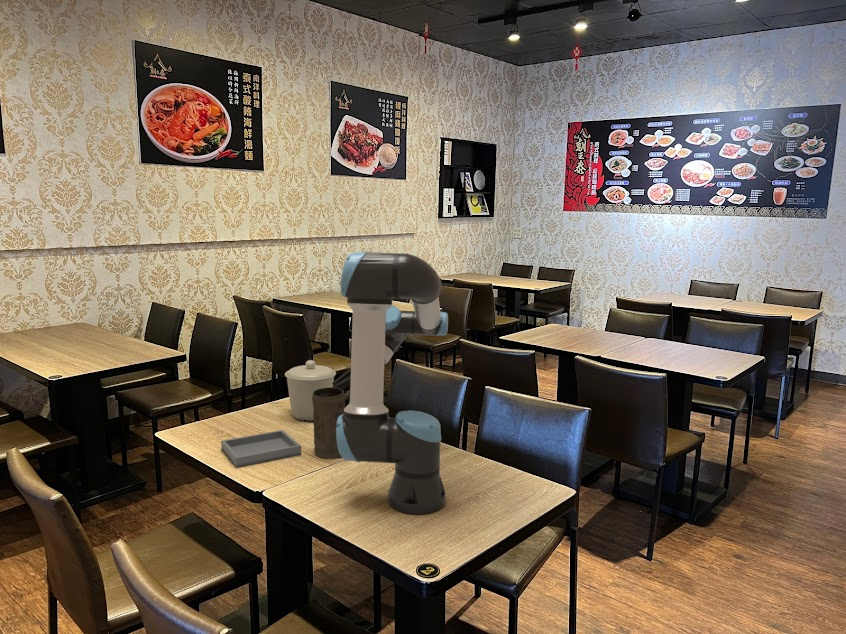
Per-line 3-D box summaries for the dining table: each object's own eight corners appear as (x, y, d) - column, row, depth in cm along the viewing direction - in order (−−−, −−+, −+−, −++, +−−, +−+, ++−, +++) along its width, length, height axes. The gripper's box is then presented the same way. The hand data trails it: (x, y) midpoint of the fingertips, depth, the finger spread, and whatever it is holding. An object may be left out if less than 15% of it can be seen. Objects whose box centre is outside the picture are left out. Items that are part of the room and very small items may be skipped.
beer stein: (329, 462, 188) (329, 398, 185) (305, 453, 194) (304, 391, 191) (364, 447, 200) (364, 387, 197) (340, 439, 206) (340, 381, 203)
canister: (346, 414, 231) (346, 359, 228) (312, 428, 216) (312, 369, 213) (309, 405, 241) (308, 352, 237) (274, 418, 226) (273, 361, 222)
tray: (301, 454, 193) (301, 445, 193) (236, 468, 183) (236, 458, 182) (282, 438, 207) (282, 429, 206) (221, 449, 196) (221, 440, 195)
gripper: (407, 372, 197) (369, 428, 190) (360, 357, 215) (323, 408, 208) (395, 358, 193) (355, 415, 186) (347, 344, 211) (309, 395, 204)
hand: (338, 411), depth 197 cm, fingers open, 13 cm apart
